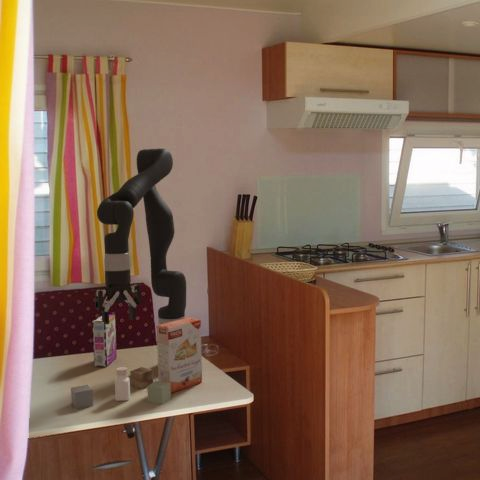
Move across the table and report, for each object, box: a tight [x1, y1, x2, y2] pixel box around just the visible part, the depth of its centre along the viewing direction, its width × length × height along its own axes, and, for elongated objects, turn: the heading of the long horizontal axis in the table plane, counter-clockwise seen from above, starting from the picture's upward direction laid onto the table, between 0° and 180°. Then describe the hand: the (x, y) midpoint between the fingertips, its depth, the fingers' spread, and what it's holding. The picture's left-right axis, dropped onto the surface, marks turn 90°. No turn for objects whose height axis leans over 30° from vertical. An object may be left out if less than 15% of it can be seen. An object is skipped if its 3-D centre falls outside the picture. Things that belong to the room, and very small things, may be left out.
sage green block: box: [146, 380, 172, 405], centre depth 199 cm, size 5×5×5 cm
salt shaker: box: [114, 366, 131, 402], centre depth 200 cm, size 4×4×10 cm
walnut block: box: [129, 366, 154, 390], centre depth 212 cm, size 5×5×5 cm
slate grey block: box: [70, 384, 94, 410], centre depth 197 cm, size 5×5×5 cm
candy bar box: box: [91, 314, 118, 368], centre depth 237 cm, size 11×5×16 cm, turn 172°
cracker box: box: [156, 316, 203, 394], centre depth 209 cm, size 14×6×21 cm, turn 137°
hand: (119, 321), depth 199 cm, fingers open, 8 cm apart
